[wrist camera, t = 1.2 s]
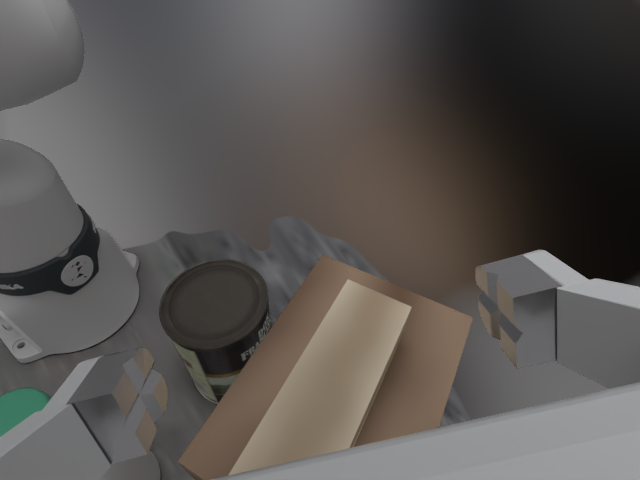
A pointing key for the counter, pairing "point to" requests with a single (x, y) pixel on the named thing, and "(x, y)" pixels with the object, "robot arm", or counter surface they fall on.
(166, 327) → the coffee can
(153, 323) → the counter surface
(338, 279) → the wooden open box
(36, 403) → the milk bottle
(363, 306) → the bar
